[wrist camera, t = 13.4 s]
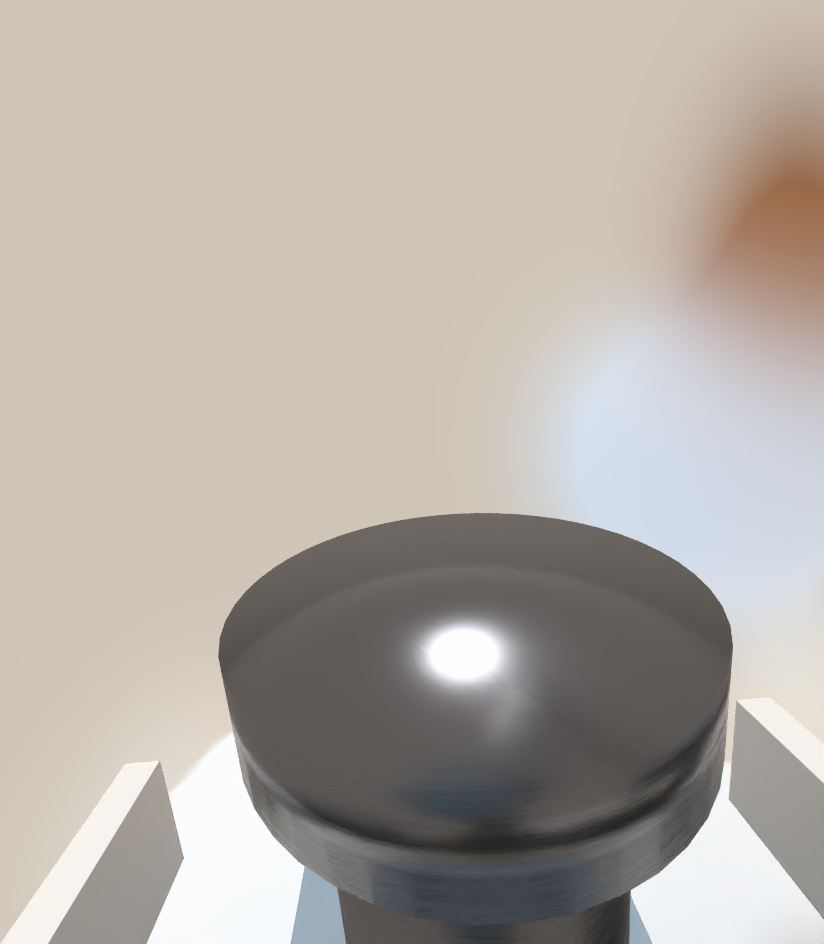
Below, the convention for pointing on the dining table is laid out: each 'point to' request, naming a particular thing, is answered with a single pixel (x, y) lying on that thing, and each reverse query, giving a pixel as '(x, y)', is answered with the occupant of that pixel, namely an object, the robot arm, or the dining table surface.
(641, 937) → the guide block
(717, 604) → the tall pin
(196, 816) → the dining table surface
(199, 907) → the dining table surface
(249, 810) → the dining table surface
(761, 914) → the dining table surface
